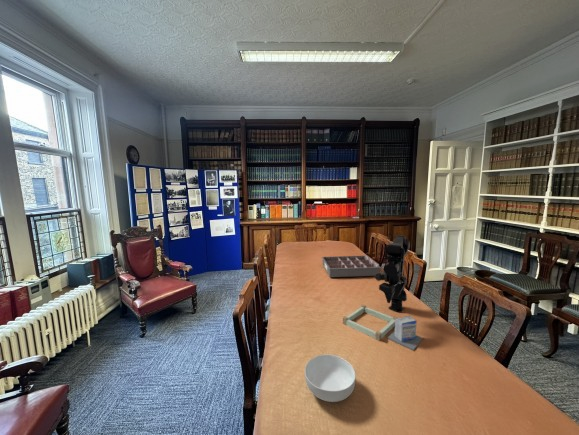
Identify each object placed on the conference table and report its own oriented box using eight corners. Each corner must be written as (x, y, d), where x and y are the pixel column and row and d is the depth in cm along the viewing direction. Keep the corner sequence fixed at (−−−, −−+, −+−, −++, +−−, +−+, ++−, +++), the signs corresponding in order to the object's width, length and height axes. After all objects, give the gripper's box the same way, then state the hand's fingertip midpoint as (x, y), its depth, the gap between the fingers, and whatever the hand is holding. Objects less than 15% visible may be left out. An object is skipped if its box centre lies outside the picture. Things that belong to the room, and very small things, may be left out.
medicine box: (401, 342, 104) (402, 323, 103) (394, 336, 108) (394, 318, 107) (416, 338, 106) (417, 320, 105) (408, 333, 110) (409, 315, 109)
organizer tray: (321, 265, 210) (321, 254, 208) (365, 264, 211) (366, 253, 210) (329, 279, 178) (329, 266, 177) (381, 277, 180) (381, 264, 178)
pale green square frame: (362, 309, 133) (362, 304, 132) (397, 323, 119) (397, 317, 118) (342, 323, 120) (342, 317, 119) (379, 341, 106) (379, 334, 105)
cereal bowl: (347, 369, 89) (347, 352, 88) (362, 411, 73) (363, 390, 72) (302, 371, 89) (302, 354, 88) (307, 413, 72) (307, 392, 71)
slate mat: (397, 328, 114) (397, 327, 114) (422, 339, 106) (422, 337, 106) (387, 338, 107) (387, 337, 107) (413, 350, 99) (413, 349, 99)
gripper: (386, 262, 129) (385, 289, 131) (369, 270, 116) (368, 300, 118) (407, 266, 121) (406, 295, 123) (391, 276, 108) (390, 308, 110)
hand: (392, 299), depth 119 cm, fingers open, 9 cm apart
